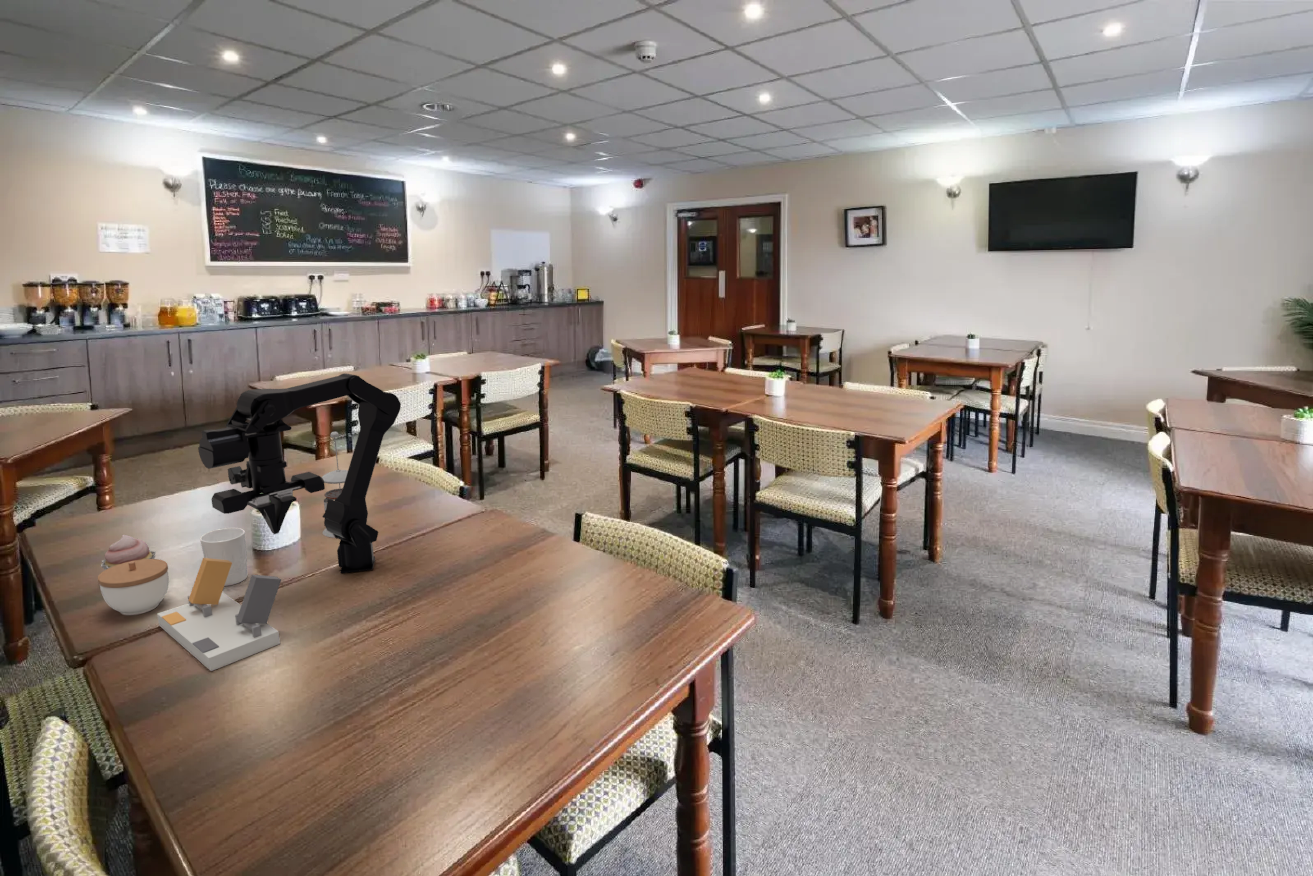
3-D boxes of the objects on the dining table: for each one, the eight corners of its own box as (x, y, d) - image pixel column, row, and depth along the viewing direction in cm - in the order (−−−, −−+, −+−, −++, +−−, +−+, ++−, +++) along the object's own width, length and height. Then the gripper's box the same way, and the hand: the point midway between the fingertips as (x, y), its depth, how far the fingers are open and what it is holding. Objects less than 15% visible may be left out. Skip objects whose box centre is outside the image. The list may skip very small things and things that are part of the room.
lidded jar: (133, 593, 141) (125, 550, 138) (186, 595, 140) (179, 551, 138) (90, 620, 130) (80, 573, 128) (147, 622, 130) (138, 575, 128)
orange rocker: (207, 605, 133) (224, 557, 134) (219, 614, 130) (236, 565, 131) (182, 604, 129) (199, 555, 130) (193, 613, 126) (211, 563, 127)
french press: (313, 535, 170) (302, 435, 164) (342, 518, 181) (332, 424, 175) (350, 539, 169) (340, 438, 163) (377, 521, 180) (368, 426, 174)
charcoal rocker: (255, 624, 127) (272, 574, 128) (268, 633, 124) (285, 582, 124) (230, 623, 123) (247, 571, 124) (243, 633, 120) (260, 580, 121)
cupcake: (133, 568, 152) (125, 524, 149) (170, 572, 150) (163, 528, 147) (92, 587, 143) (82, 541, 140) (130, 592, 141) (122, 545, 139)
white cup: (231, 589, 143) (224, 543, 140) (197, 585, 144) (190, 540, 142) (259, 573, 150) (253, 529, 148) (227, 569, 152) (221, 526, 149)
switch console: (224, 603, 137) (221, 583, 136) (280, 643, 124) (277, 621, 122) (159, 625, 129) (155, 604, 128) (210, 671, 115) (207, 648, 114)
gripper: (294, 440, 146) (303, 511, 150) (194, 459, 132) (206, 537, 136) (322, 449, 140) (329, 523, 143) (219, 470, 125) (230, 552, 129)
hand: (275, 533), depth 138 cm, fingers closed
